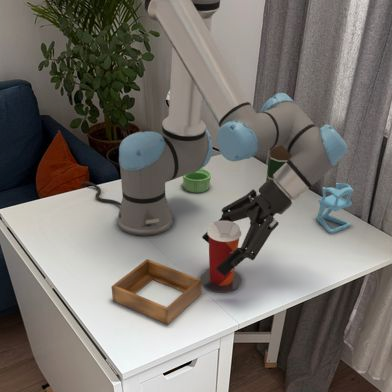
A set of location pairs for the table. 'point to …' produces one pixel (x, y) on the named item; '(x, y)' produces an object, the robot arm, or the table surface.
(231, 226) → the paper cup
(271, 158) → the beer bottle
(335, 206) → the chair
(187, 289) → the wooden frame
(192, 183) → the ramekin
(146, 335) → the table surface
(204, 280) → the coaster
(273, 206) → the robot arm
